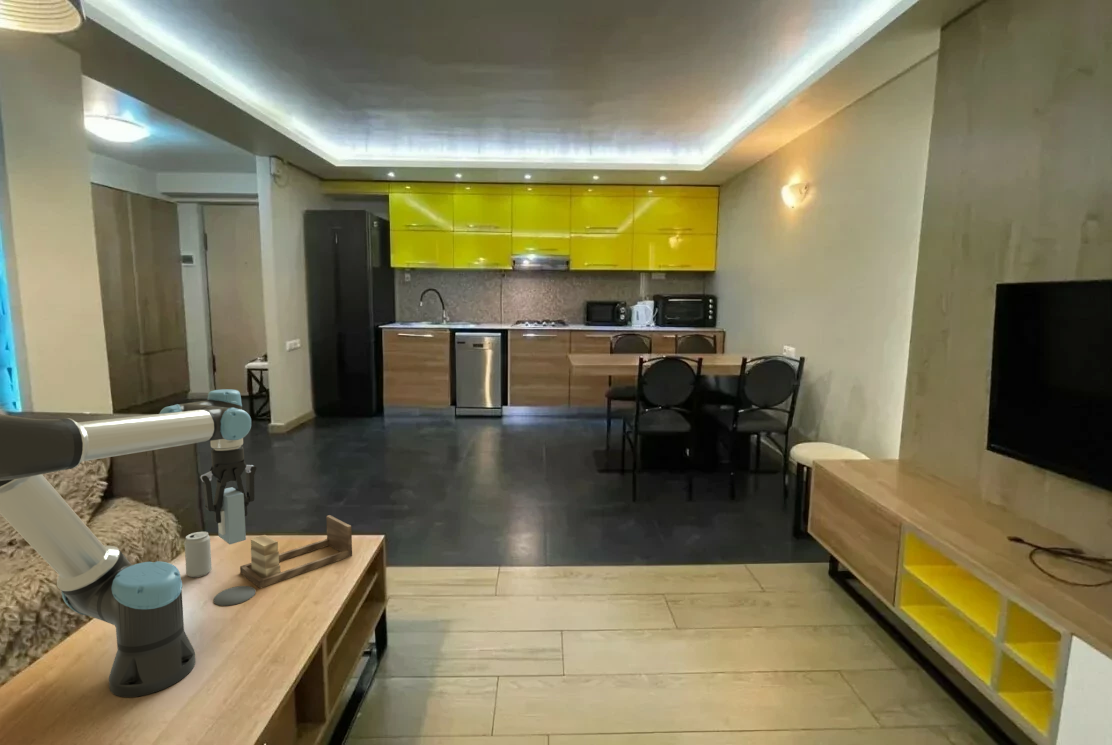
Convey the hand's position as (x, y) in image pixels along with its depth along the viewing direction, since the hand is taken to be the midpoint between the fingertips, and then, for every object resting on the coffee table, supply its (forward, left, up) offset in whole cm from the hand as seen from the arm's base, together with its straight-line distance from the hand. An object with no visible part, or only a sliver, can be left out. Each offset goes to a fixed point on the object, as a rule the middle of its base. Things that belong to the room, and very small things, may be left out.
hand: (231, 530), depth 150 cm
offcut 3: (+11, +6, -19) cm, 23 cm away
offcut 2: (+11, +7, -15) cm, 20 cm away
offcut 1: (+11, +6, -11) cm, 17 cm away
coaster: (0, 0, -19) cm, 19 cm away
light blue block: (0, 0, -2) cm, 2 cm away
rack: (+20, +6, -19) cm, 29 cm away
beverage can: (-2, +22, -19) cm, 29 cm away
